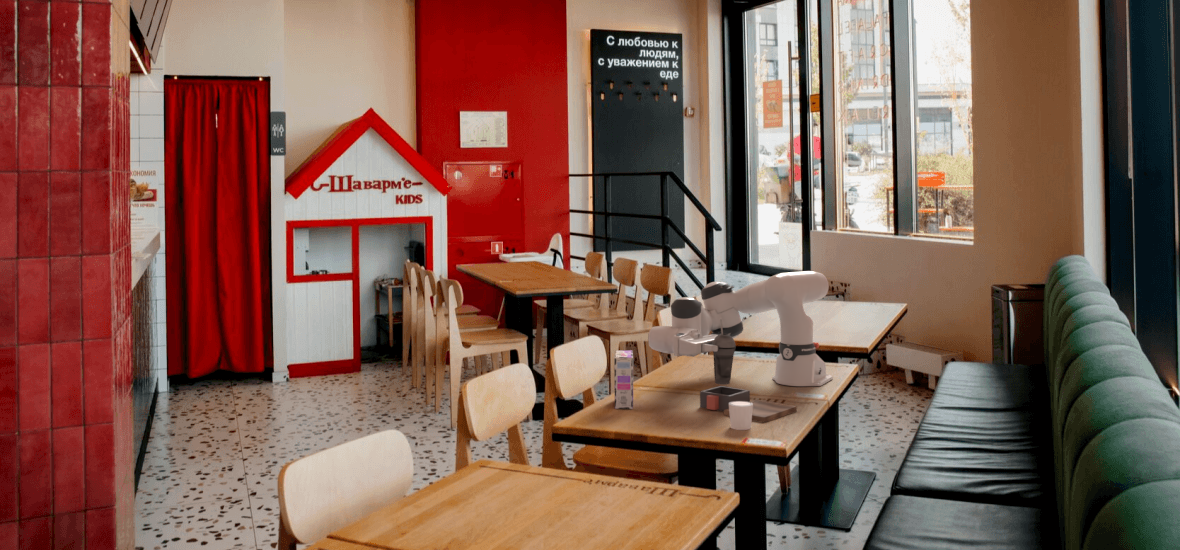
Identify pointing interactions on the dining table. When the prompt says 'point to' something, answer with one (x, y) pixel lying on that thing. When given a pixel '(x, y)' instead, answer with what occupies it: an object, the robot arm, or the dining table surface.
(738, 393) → the dark grey open box
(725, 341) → the beverage cup
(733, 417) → the white cup
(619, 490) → the dining table surface
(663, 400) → the dining table surface
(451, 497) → the dining table surface
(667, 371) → the dining table surface
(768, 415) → the walnut mat
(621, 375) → the candy box
